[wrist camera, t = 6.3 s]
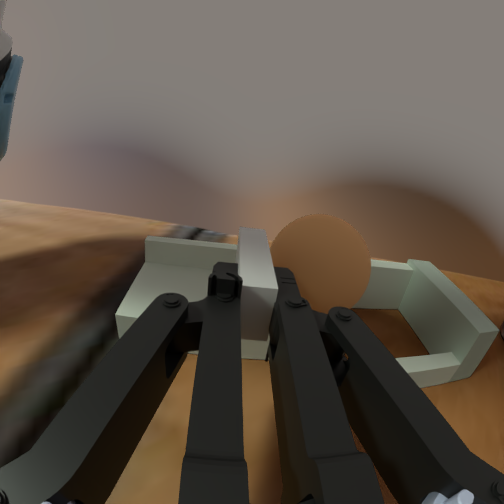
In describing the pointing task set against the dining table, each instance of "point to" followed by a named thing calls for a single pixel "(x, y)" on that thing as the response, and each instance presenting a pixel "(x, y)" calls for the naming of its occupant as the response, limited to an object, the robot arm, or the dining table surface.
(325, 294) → the ball
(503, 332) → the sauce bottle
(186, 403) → the dining table surface
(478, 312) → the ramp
